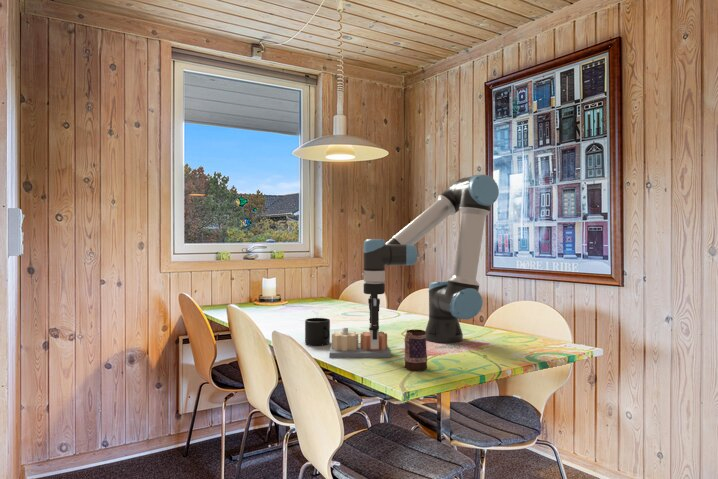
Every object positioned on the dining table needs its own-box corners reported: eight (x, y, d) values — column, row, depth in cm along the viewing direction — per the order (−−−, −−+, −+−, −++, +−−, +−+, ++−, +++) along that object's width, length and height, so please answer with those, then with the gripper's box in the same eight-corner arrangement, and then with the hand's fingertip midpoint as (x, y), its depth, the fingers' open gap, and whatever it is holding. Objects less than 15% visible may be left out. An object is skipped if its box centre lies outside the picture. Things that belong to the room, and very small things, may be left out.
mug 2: (411, 364, 161) (411, 327, 160) (431, 367, 157) (431, 329, 156) (395, 371, 152) (395, 331, 152) (416, 375, 148) (416, 334, 148)
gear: (386, 344, 182) (386, 331, 182) (387, 350, 173) (388, 336, 173) (360, 344, 182) (360, 331, 182) (360, 350, 173) (360, 336, 173)
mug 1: (319, 348, 183) (319, 323, 183) (300, 343, 192) (300, 319, 192) (339, 344, 189) (339, 320, 189) (319, 339, 198) (319, 317, 198)
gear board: (386, 347, 186) (387, 324, 185) (390, 357, 170) (390, 332, 169) (331, 347, 185) (331, 324, 185) (329, 357, 169) (329, 332, 169)
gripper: (362, 279, 189) (362, 338, 189) (364, 285, 166) (364, 352, 166) (382, 279, 189) (382, 338, 189) (386, 285, 166) (386, 352, 166)
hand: (373, 345), depth 177 cm, fingers open, 10 cm apart
